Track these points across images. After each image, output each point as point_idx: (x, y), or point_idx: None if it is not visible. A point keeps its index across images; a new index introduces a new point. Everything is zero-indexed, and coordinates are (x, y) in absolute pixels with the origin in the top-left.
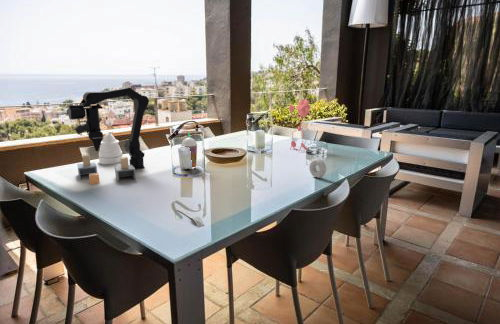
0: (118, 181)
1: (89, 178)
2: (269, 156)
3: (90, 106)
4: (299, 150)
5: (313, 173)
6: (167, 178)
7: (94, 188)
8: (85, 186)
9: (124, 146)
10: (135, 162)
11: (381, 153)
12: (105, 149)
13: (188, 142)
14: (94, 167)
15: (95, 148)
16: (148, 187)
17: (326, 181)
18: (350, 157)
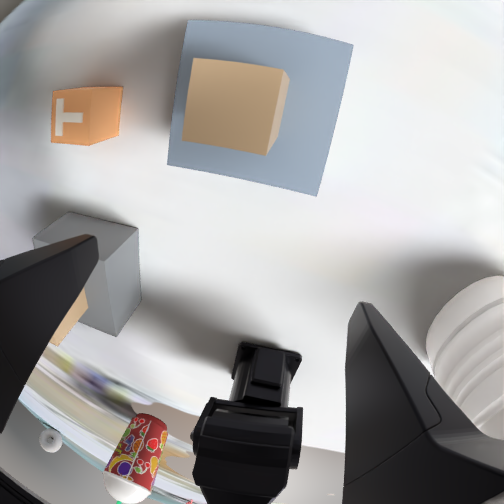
0: (68, 214)
1: (96, 87)
2: (186, 487)
3: None
4: (191, 501)
5: (53, 433)
6: (72, 345)
7: (31, 103)
8: (65, 64)
9: (281, 450)
10: (237, 380)
11: None
12: (495, 362)
13: (104, 482)
14: (171, 145)
15: (56, 248)
16: None
17: (42, 421)
18: None
